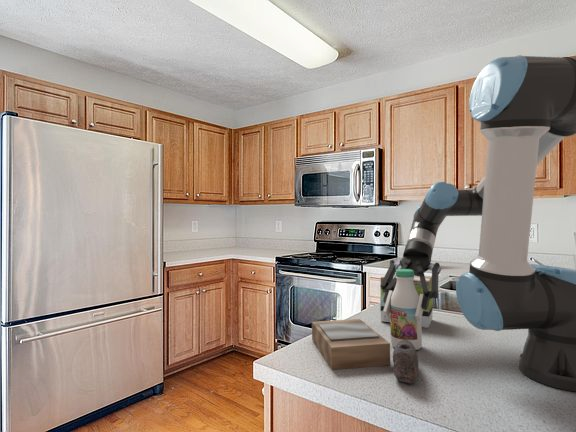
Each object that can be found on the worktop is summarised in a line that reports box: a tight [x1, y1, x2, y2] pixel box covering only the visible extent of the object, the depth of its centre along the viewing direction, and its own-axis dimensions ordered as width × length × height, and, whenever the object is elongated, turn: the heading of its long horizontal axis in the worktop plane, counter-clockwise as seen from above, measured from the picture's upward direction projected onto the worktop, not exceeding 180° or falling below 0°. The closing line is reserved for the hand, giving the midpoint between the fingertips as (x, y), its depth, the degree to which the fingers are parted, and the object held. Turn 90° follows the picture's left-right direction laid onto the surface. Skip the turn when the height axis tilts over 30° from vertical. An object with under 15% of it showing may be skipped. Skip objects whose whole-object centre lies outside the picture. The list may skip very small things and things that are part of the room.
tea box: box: [379, 273, 434, 329], centre depth 117 cm, size 15×10×15 cm
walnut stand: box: [311, 318, 391, 371], centre depth 92 cm, size 20×14×5 cm
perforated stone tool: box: [392, 340, 419, 385], centre depth 79 cm, size 15×5×7 cm, turn 160°
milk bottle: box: [390, 268, 423, 351], centre depth 94 cm, size 8×8×20 cm
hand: (401, 316), depth 92 cm, fingers closed on milk bottle, 7 cm apart
